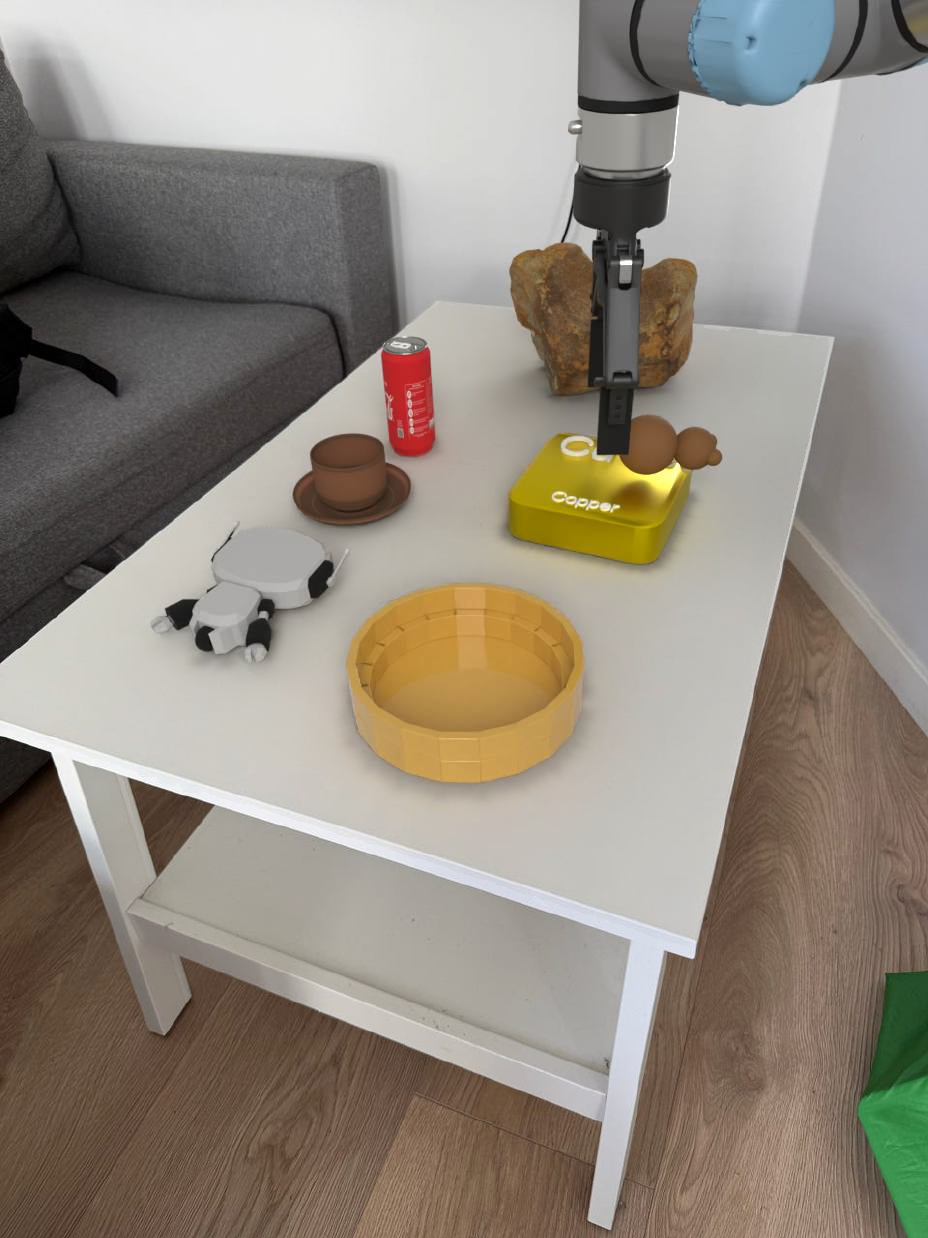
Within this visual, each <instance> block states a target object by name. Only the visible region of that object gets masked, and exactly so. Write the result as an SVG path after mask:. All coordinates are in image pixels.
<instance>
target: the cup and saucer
mask: <svg viewBox="0 0 928 1238" xmlns="http://www.w3.org/2000/svg"><path fill="white" fill-rule="evenodd" d="M385 453H386V452H385V445H384V444H383V442H382V441H381V440H380V439H378V438H377V437H376V436H373V435H369V434H365V433H355V432H353V433H351V432H350V433H340V434H336V435H332V436H328V437H326V438H323V439H322V440H320V441H318V442H317V443H315V444H314V445H313V446H312V448H311V449H310V451H309V457H310V464H311V470H310V471H309V472H307V473H306V474H304V475H303V476H302V477H301V478H299V479H298V480H297V482H295V485H294V486H293V489H292V499H293V502H294V504H295V506H296V508H297V509H298V511H300V513H302V514H303V515H305V516H307V517H308V518H310V519H312V520H314V521H317V522H320V523H323V524H327V525H334V526H357V525H363V524H364V525H365V524H368V523H372V522H375V521H378V520H381V519H383V518H386V517H387V516H389V515H392V514H393V513H394V512H396V511H397V510H398V509H399V508H400V507H402V505H404V504H405V502H406V501H407V500H408V498H409V496H410V493H411V489H412V483H411V482H412V481H411V478H410V476H409V475H408V474H407V473H406V471H404V470H403V469H402V468H400V467H399V466H397V465H395V464H392V463H391V462H386V454H385Z"/></svg>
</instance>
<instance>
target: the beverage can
mask: <svg viewBox="0 0 928 1238" xmlns="http://www.w3.org/2000/svg"><path fill="white" fill-rule="evenodd" d="M431 357H432V356H431V349H430V348H429V346H428V342H427V340H425V339H424V338H422V337H418V336H413V335H405V336H404V335H403V336H397V337H392V338H390V339H388V340H386V341H384V342H383V344H382V350H381V352H380V359H381V361H380V362H381V370H382V380H383V391H384V400H385V401H384V402H385V409H386V410H385V411H386V421H387V431H388V442H389V444H390V446H391V447H392V448H393V452H394V453H395V454H396V455H399V456H401V457H404V458H417V457H422V456H425V455H427V454H428V453H430V452H431V451H432V449H433V445H434V443H435V441H436V425H435V424H436V423H435V408H434V393H433V392H434V391H433V376H432V374H433V373H432V359H431Z"/></svg>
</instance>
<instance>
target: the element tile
mask: <svg viewBox="0 0 928 1238" xmlns="http://www.w3.org/2000/svg"><path fill="white" fill-rule="evenodd" d="M596 450H597V436H596V437H595V436H590V435H584V434H578V433H571V432H559V433H557V434H555V435H554V436H552V437H550V438H549V439H548V440H547V441H546V442H545V444H544V445H543V446H542V448H541V449H540V450H539V451H538V453H537V454H536V456H535V457H533V460H532V461H531V462H530V463H529V465H528V466H527V467H526V468H525V470H524V471H523V473H522V474H520V476H519V478H518V479H517V480H516V481H515V483H514V484H513V486H511V488H510V489H509V491H508V495H507V496H508V531H509V533H510V535H512V536H513V537H515V538H517V539H519V540H522V541H525V542H529V543H535V544H539V545H544V546H548V547H553V548H557V549H562V550H566V551H572V552H576V553H580V554H586V555H590V556H594V557H598V558H602V559H603V558H604V559H609V560H613V561H618V562H622V563H626V564H630V565H631V564H633V565H647V564H650V563H653V562H654V561H656V560H658V559H659V557H660V556H661V555H662V552H663V550H664V548H665V546H666V545H667V542H668V540H669V539H670V537H671V535H672V532H673V530H674V527H675V526H676V523H677V522H678V520H679V517H680V515H681V513H682V511H683V509H684V507H685V505H686V502H687V500H688V499H689V495H690V489H691V482H692V481H691V480H692V474H693V471H692V472H690V473H684V472H683V471H682V470H681V469H680V465H679V464H678V463H677V462H676V460H675V459H674V460H673V461H672V463H671V464H670V465H669V466H668V467H667V468H666V469H664V470H663V471H661V472H659V473H656V474H652V475H641V474H637V473H635V472H632V471H631V470H629V469H628V468H627V467H626V466H625V465H624V464H623V463H622V461H621V459H620V457H619V455H597V451H596Z"/></svg>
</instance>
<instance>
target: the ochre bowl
mask: <svg viewBox="0 0 928 1238" xmlns="http://www.w3.org/2000/svg"><path fill="white" fill-rule="evenodd" d="M583 645H584V644H583V641H582V638H581V637H580V635H579V633H578V632H577V630H576V629H575V626H574V624H573V623H572V622H571V620H570V619H569V618H568V617H567V616H565V615H564V614H563V613H562V612H561V611H559V610H558V609H557V608H556V607H555V606H553V605H552V604H551V603H550V602H548V601H547V600H544V599H543V598H540V597H538V596H535V595H533V594H531V593H528V592H527V591H524V590H522V589H518V588H514V587H508V586H503V585H498V584H493V583H487V582H485V583H484V582H454V583H447V584H442V585H438V586H431V587H427V588H421V589H418V590H416V591H413V592H411V593H408V594H406V595H404V596H401V597H398V598H397V599H394V600H391V601H390V602H389V603H387V604H386V605H384V606H383V607H382V608H380V609H379V610H378V611H376V612H375V613H374V614H372V615H371V616H369V617H368V618H367V619H366V620H365V621H364V622H363V624H362V626H361V627H360V629H358V631H357V633H356V634H355V635H354V637H353V638H352V640H351V641H350V645H349V649H348V654H347V660H346V663H345V669H346V674H347V675H346V676H347V681H348V688H349V694H350V701H351V707H352V712H353V715H354V721H355V724H356V727H357V731H358V733H359V735H360V736H361V737H362V738H363V739H364V741H365V742H366V744H367V745H368V747H370V749H371V750H372V751H373V753H375V755H376V756H378V757H379V758H381V759H383V761H385V762H388V764H390V765H392V766H394V767H396V768H397V769H398V770H400V771H402V772H404V773H406V774H410V775H413V776H417V777H421V778H425V779H428V780H431V781H435V782H439V783H473V784H475V783H477V784H478V783H479V784H480V783H486V782H489V781H493V780H498V779H503V778H507V777H511V776H516V775H519V774H521V773H523V772H525V771H526V770H528V769H531V768H532V767H535V766H536V765H538V764H539V763H542V762H543V761H545V760H548V759H549V758H550V757H552V756H553V755H554V753H556V752H557V751H558V749H560V748H561V746H562V745H563V744H564V743H565V742H566V741H567V740H568V739H569V738H570V737H571V736H572V734H573V732H574V729H575V727H576V724H577V722H578V719H579V717H580V715H581V712H582V710H583V709H582V708H583V694H584V676H585V659H584V657H585V656H584V647H583Z"/></svg>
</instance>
